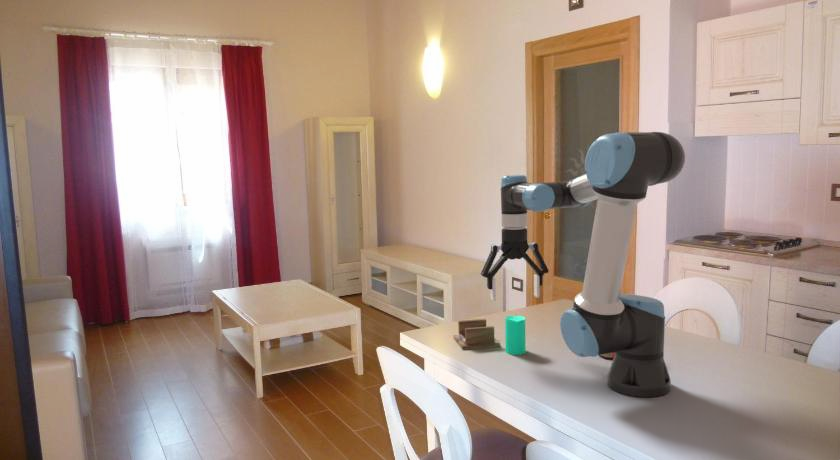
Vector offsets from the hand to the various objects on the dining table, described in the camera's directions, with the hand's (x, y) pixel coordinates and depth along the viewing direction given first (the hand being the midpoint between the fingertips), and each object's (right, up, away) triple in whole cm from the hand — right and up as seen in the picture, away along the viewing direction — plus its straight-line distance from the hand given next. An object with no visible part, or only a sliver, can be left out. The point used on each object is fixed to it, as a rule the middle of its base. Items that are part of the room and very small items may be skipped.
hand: (515, 298), depth 185 cm
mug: (+29, -16, -3) cm, 33 cm away
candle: (+1, -17, +2) cm, 17 cm away
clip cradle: (-10, -15, +12) cm, 22 cm away
